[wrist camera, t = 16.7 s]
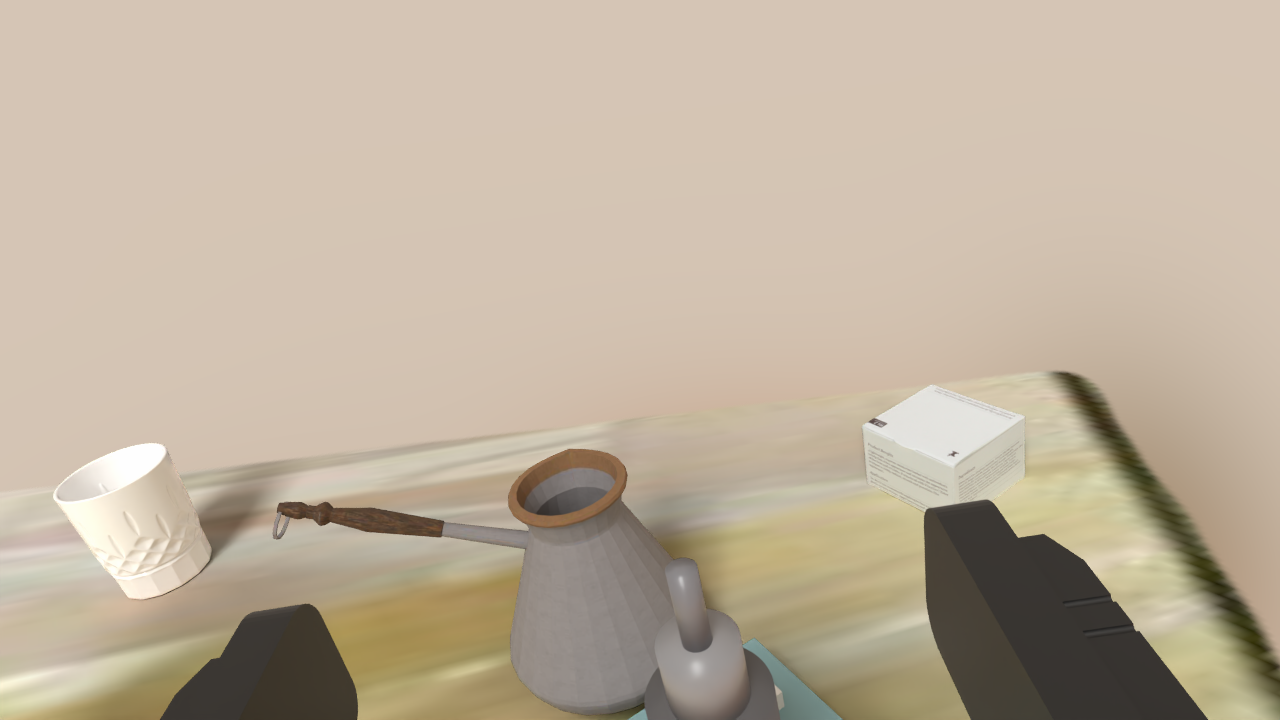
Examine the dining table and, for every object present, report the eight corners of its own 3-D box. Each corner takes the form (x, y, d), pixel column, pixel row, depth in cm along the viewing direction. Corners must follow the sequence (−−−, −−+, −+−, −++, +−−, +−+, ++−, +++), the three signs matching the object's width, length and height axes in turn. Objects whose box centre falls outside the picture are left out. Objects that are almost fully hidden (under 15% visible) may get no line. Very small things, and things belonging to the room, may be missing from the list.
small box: (1028, 478, 55) (1030, 415, 52) (954, 531, 51) (952, 467, 49) (934, 438, 61) (932, 380, 59) (863, 484, 58) (857, 424, 55)
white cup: (127, 562, 67) (68, 465, 63) (224, 528, 69) (173, 431, 65) (106, 620, 60) (38, 516, 56) (214, 580, 62) (157, 477, 58)
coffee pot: (700, 576, 52) (659, 377, 46) (725, 723, 42) (676, 493, 35) (387, 634, 53) (303, 447, 46) (335, 792, 42) (218, 580, 36)
